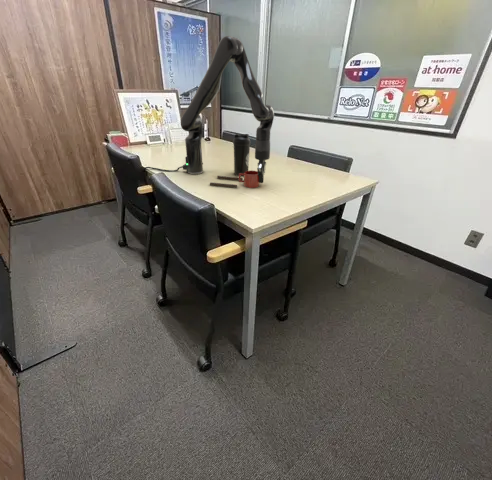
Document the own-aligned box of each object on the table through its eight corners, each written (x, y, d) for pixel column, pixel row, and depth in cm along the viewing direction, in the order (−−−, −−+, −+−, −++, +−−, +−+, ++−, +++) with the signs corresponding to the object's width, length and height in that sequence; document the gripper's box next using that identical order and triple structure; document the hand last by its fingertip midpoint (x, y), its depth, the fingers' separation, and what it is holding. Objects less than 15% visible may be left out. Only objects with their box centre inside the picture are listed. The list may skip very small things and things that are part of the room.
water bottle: (247, 177, 157) (249, 135, 145) (231, 175, 159) (231, 135, 147) (250, 172, 166) (252, 133, 154) (234, 171, 167) (235, 132, 156)
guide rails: (209, 185, 143) (209, 182, 142) (217, 178, 154) (217, 175, 154) (236, 188, 140) (236, 185, 139) (242, 180, 151) (242, 177, 150)
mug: (260, 183, 147) (260, 171, 143) (257, 188, 140) (258, 175, 136) (240, 181, 149) (240, 169, 145) (236, 186, 142) (236, 173, 139)
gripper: (257, 146, 140) (256, 178, 148) (252, 151, 129) (251, 185, 137) (271, 147, 138) (269, 179, 147) (267, 152, 127) (266, 187, 136)
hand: (261, 182), depth 142 cm, fingers closed
